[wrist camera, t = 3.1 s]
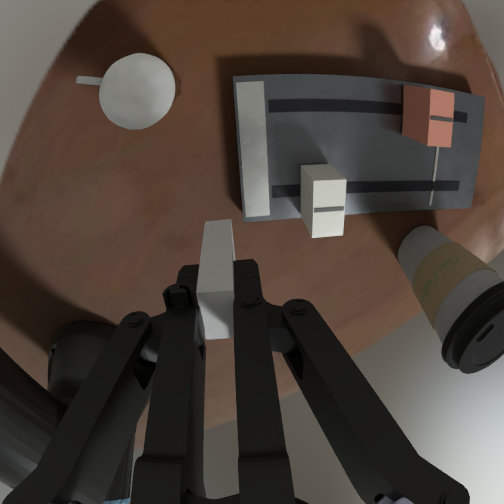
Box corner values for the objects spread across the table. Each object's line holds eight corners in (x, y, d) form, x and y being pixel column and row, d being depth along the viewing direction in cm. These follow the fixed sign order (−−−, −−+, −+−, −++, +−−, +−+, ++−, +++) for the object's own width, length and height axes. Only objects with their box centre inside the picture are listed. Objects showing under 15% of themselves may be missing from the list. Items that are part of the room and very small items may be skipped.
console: (242, 212, 29) (243, 222, 27) (232, 76, 22) (232, 76, 21) (460, 200, 30) (470, 208, 28) (472, 94, 23) (485, 97, 22)
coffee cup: (396, 206, 30) (488, 299, 17) (461, 214, 31) (547, 291, 18) (374, 284, 34) (433, 388, 21) (436, 282, 35) (499, 369, 22)
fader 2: (402, 134, 24) (427, 146, 20) (403, 84, 21) (430, 88, 18) (424, 136, 24) (451, 147, 20) (426, 88, 21) (454, 93, 18)
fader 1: (300, 215, 27) (312, 238, 23) (300, 165, 25) (313, 181, 21) (327, 213, 27) (342, 235, 23) (329, 164, 25) (346, 179, 21)
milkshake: (138, 51, 21) (91, 39, 12) (198, 71, 22) (183, 65, 13) (118, 102, 23) (64, 118, 14) (177, 121, 24) (150, 146, 15)
